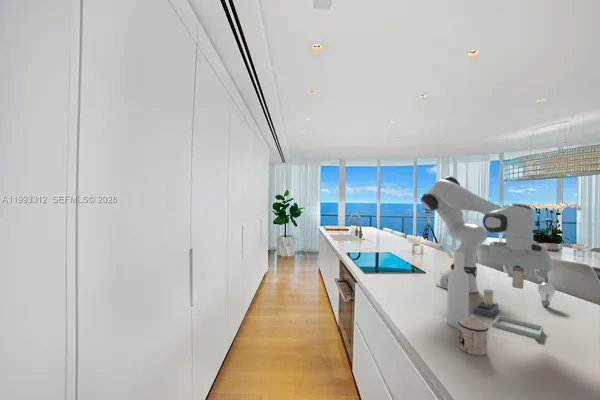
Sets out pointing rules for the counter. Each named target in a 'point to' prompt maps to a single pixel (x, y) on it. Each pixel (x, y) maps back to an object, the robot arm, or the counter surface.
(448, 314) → the bottle
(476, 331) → the teacup with lid
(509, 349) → the counter surface
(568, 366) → the counter surface
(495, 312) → the fuse block
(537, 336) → the parts tray
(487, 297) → the fuse
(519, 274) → the fuse
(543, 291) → the light bulb
